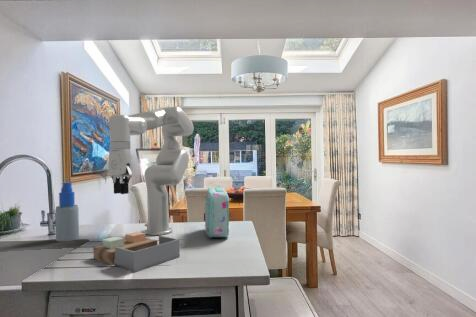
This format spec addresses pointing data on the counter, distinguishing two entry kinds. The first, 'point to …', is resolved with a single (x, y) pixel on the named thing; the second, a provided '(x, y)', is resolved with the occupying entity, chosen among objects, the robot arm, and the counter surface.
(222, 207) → the lunch box
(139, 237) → the terracotta block
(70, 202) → the spray bottle
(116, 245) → the sage tile
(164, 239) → the box
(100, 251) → the tan wooden board
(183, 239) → the counter surface
